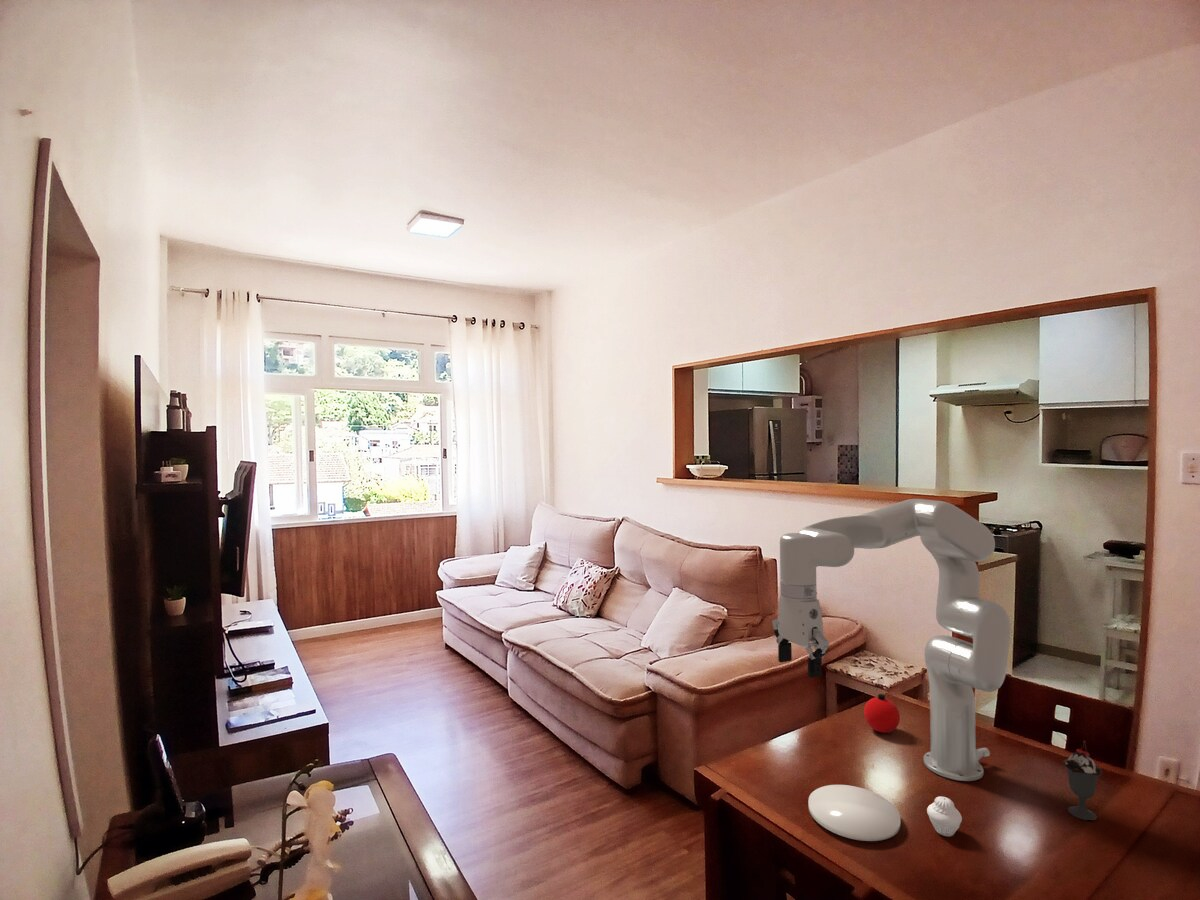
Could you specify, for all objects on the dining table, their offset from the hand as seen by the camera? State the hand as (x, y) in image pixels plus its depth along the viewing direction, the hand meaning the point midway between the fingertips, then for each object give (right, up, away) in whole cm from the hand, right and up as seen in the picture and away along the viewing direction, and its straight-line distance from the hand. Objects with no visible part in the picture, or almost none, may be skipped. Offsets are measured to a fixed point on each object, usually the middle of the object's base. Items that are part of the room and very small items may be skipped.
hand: (799, 668), depth 134 cm
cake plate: (+10, -30, -4) cm, 32 cm away
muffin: (+27, -30, -9) cm, 41 cm away
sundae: (+59, -29, -4) cm, 66 cm away
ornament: (+34, -30, +34) cm, 56 cm away
